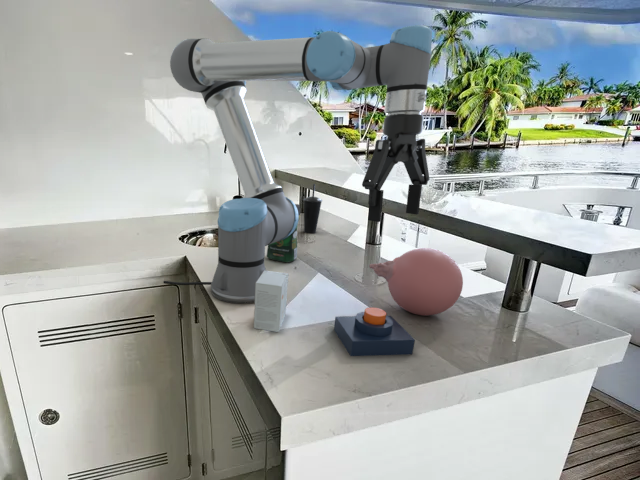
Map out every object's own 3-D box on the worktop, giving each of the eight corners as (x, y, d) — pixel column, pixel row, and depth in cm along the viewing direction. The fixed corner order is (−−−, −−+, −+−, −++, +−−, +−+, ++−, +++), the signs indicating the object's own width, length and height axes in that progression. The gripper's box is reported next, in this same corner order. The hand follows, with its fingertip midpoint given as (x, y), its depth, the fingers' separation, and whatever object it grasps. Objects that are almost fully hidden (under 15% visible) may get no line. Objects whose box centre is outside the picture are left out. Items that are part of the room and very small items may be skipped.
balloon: (370, 290, 101) (379, 234, 96) (455, 307, 92) (469, 246, 87) (357, 312, 89) (366, 249, 84) (454, 334, 80) (470, 265, 74)
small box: (261, 312, 87) (263, 269, 84) (285, 316, 86) (288, 272, 82) (252, 328, 80) (254, 282, 76) (278, 333, 78) (282, 285, 75)
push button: (350, 356, 71) (353, 332, 69) (333, 330, 80) (336, 308, 78) (412, 354, 72) (416, 331, 70) (388, 328, 81) (391, 307, 80)
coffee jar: (263, 259, 124) (265, 202, 118) (273, 253, 131) (276, 199, 124) (290, 264, 120) (295, 206, 113) (299, 258, 126) (304, 202, 120)
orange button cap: (368, 326, 72) (369, 316, 72) (360, 316, 76) (361, 307, 75) (388, 325, 73) (390, 316, 72) (379, 316, 76) (380, 307, 76)
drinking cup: (320, 234, 157) (325, 185, 150) (302, 233, 157) (306, 184, 150) (317, 229, 164) (321, 183, 158) (299, 229, 164) (303, 182, 158)
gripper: (381, 111, 68) (371, 227, 75) (454, 114, 81) (441, 212, 88) (348, 114, 74) (342, 221, 81) (422, 117, 87) (411, 209, 94)
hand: (393, 217), depth 84 cm, fingers open, 13 cm apart
